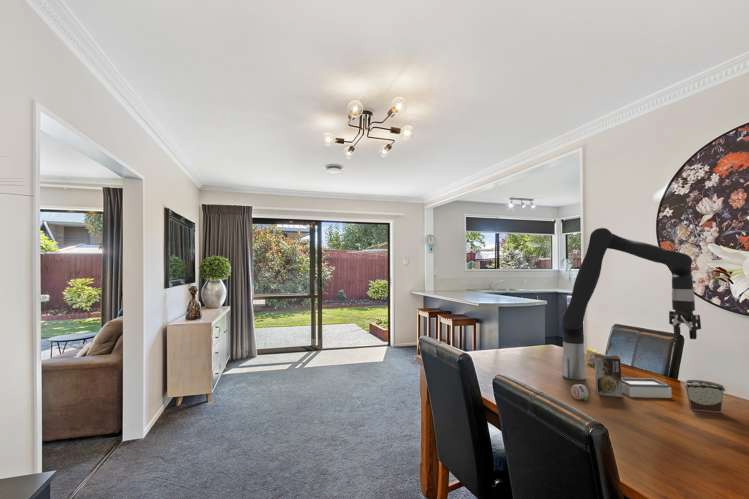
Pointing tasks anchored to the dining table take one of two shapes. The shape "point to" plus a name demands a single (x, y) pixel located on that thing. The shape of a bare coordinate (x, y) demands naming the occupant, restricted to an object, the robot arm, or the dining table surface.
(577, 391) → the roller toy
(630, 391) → the base
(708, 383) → the food container
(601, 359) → the coffee box
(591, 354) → the candy box
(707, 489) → the dining table surface
